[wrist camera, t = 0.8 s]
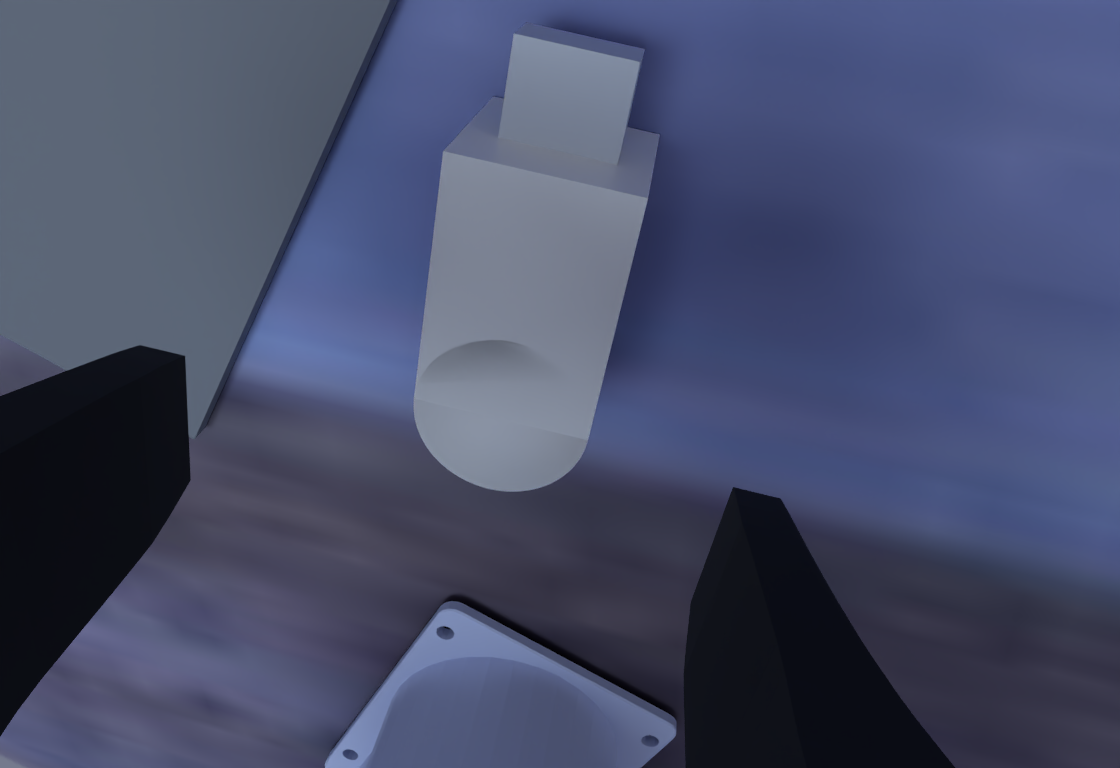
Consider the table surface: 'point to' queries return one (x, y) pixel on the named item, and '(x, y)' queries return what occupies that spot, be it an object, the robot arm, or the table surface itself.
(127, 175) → the mat
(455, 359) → the connector
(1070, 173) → the table surface
